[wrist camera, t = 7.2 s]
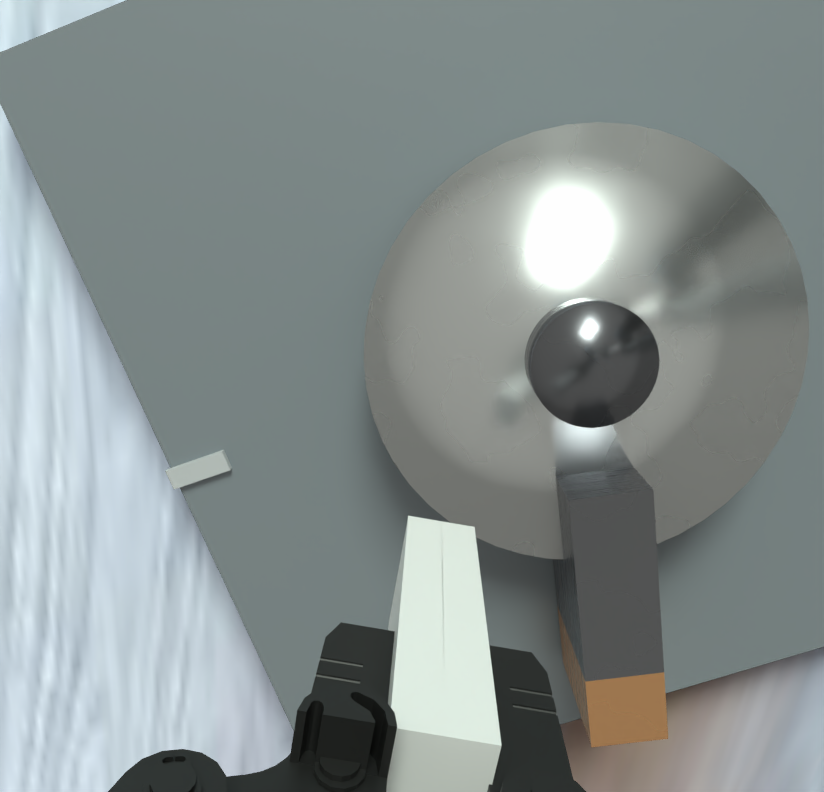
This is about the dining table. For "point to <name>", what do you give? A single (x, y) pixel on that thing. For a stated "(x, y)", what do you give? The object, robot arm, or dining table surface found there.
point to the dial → (589, 373)
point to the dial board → (364, 257)
